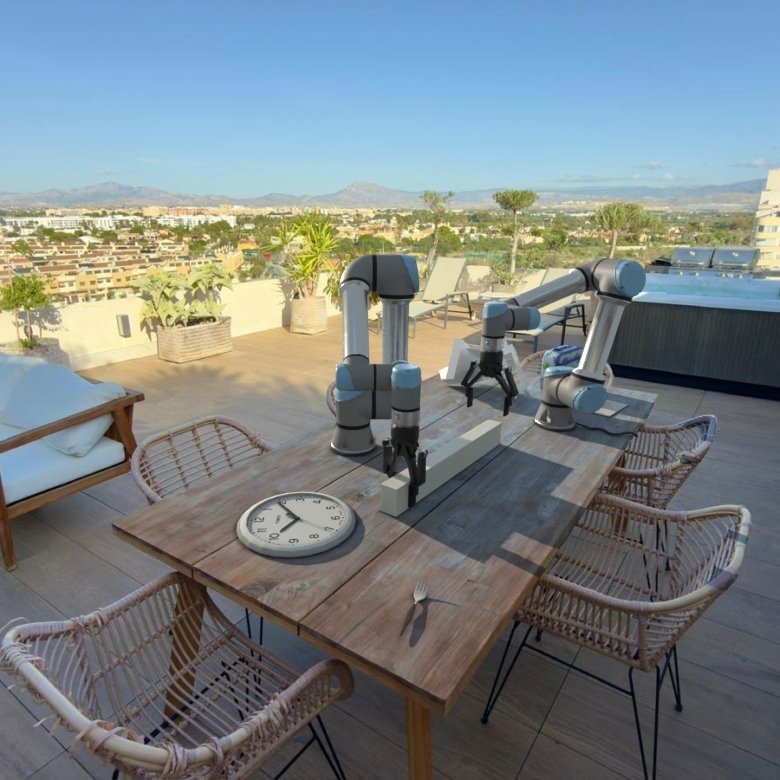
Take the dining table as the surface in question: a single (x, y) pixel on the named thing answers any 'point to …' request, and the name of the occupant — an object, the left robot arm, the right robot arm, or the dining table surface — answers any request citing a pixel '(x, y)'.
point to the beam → (441, 466)
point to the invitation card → (610, 408)
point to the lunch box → (561, 358)
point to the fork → (419, 596)
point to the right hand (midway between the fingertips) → (487, 410)
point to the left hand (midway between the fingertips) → (403, 501)
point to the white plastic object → (465, 355)
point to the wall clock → (296, 524)
